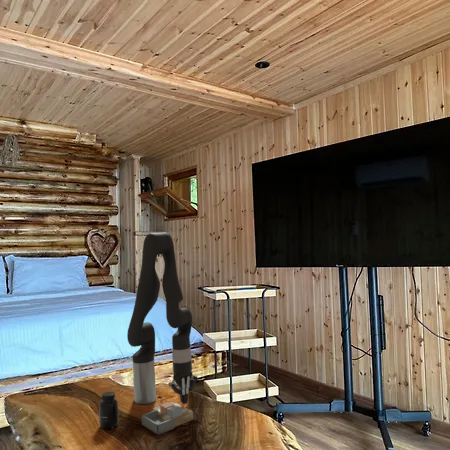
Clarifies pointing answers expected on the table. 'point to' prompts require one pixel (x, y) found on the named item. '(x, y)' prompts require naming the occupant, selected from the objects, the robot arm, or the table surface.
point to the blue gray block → (174, 411)
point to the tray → (156, 423)
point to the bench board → (185, 417)
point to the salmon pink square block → (165, 407)
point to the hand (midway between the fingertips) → (184, 403)
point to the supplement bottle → (108, 410)
